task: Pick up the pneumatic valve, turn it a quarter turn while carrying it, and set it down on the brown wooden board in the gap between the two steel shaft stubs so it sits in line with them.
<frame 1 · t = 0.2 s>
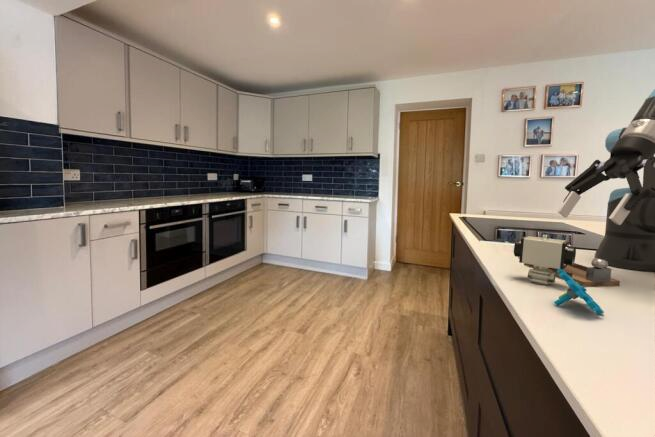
hand: (585, 217, 74), 16 cm above the countertop, tool tilted 35°, fingers open, 13 cm apart
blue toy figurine: (576, 309, 60), on the countertop
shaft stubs: (567, 260, 81), point 4 cm above the countertop
brown wooden board: (566, 274, 82), on the countertop
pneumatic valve: (541, 283, 75), on the countertop
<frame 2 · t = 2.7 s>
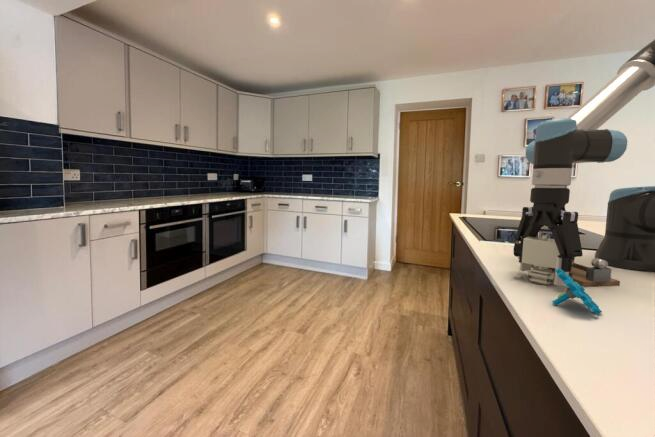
hand: (541, 277, 75), 1 cm above the countertop, tool pointing down, fingers closed on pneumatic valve, 10 cm apart
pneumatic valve: (540, 283, 75), on the countertop, touching gripper
everything else where it was.
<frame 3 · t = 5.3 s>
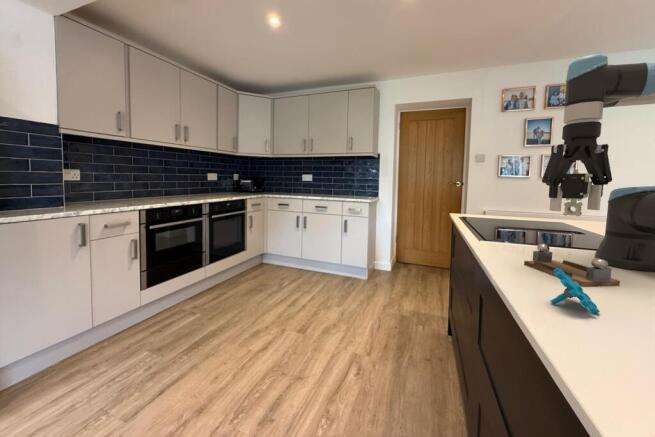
hand: (574, 210, 79), 17 cm above the countertop, tool pointing down, fingers closed on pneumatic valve, 10 cm apart
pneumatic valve: (574, 216, 79), point 16 cm above the countertop, touching gripper
everything else where it was.
when the fingers open (5 cm above the countertop, at t = 7.8 s): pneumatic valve drops 2 cm, resting on brown wooden board.
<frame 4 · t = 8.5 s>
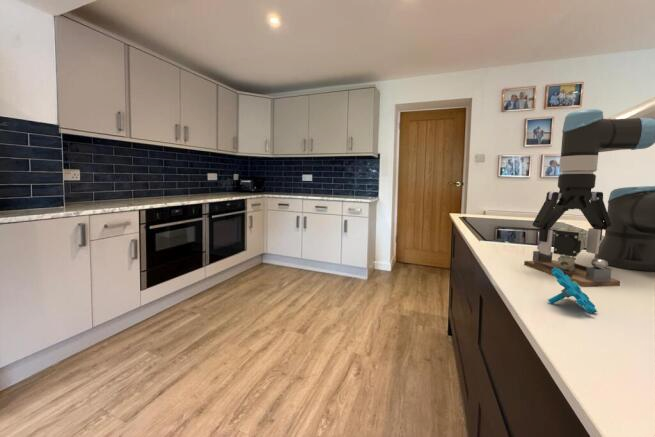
hand: (568, 253, 81), 6 cm above the countertop, tool pointing down, fingers open, 13 cm apart
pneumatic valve: (567, 270, 81), point 1 cm above the countertop, touching brown wooden board
everything else where it was.
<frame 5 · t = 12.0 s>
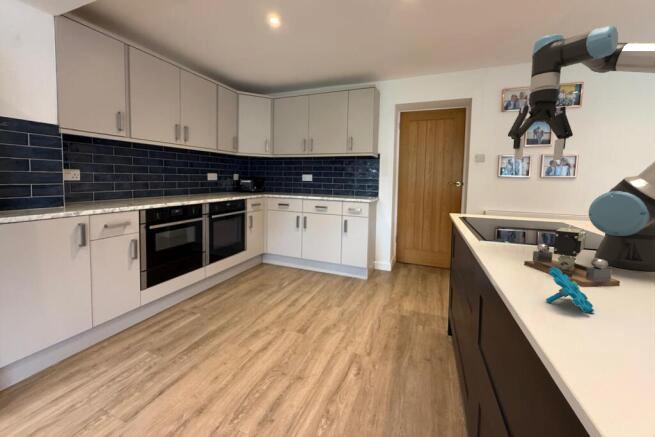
hand: (538, 159, 97), 32 cm above the countertop, tool pointing down, fingers open, 13 cm apart
at the end: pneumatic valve inside the target area on the brown wooden board (0.2 cm from its centre), point 1.0 cm above the brown wooden board's base; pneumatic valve tilted 0°; the gripper is holding nothing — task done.
